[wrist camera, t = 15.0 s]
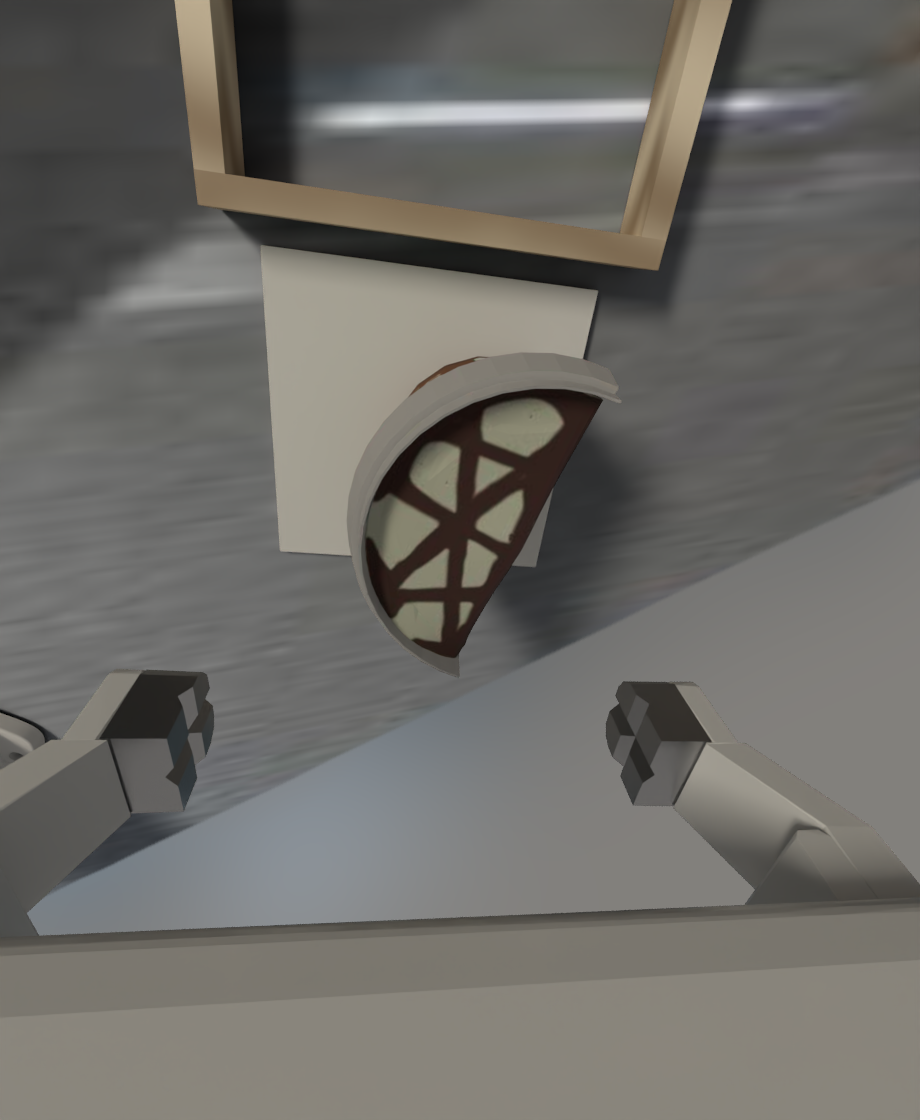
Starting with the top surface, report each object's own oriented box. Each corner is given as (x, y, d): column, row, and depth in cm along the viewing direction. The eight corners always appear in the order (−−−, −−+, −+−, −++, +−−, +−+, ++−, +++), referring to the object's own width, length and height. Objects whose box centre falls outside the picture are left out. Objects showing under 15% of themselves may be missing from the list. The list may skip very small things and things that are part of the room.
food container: (422, 269, 21) (429, 280, 13) (550, 334, 23) (632, 383, 14) (331, 518, 27) (293, 643, 18) (440, 556, 28) (453, 687, 20)
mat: (534, 563, 30) (535, 567, 29) (281, 547, 28) (280, 551, 27) (595, 290, 23) (598, 290, 22) (262, 245, 21) (260, 244, 20)
